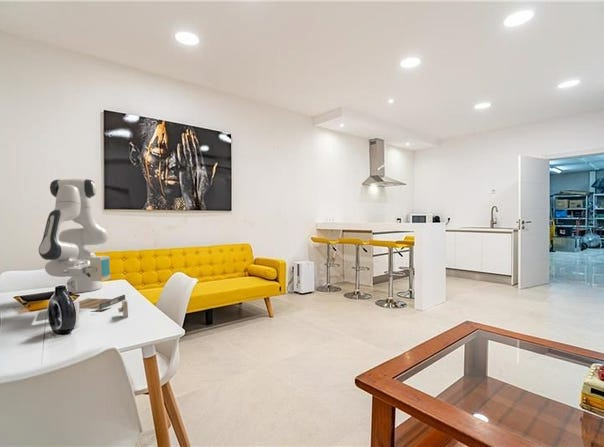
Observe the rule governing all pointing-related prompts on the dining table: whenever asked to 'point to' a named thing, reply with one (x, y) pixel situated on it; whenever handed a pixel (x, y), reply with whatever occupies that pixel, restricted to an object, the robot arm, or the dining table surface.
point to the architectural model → (124, 309)
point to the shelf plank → (99, 303)
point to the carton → (100, 268)
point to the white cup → (77, 314)
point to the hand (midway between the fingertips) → (101, 268)
